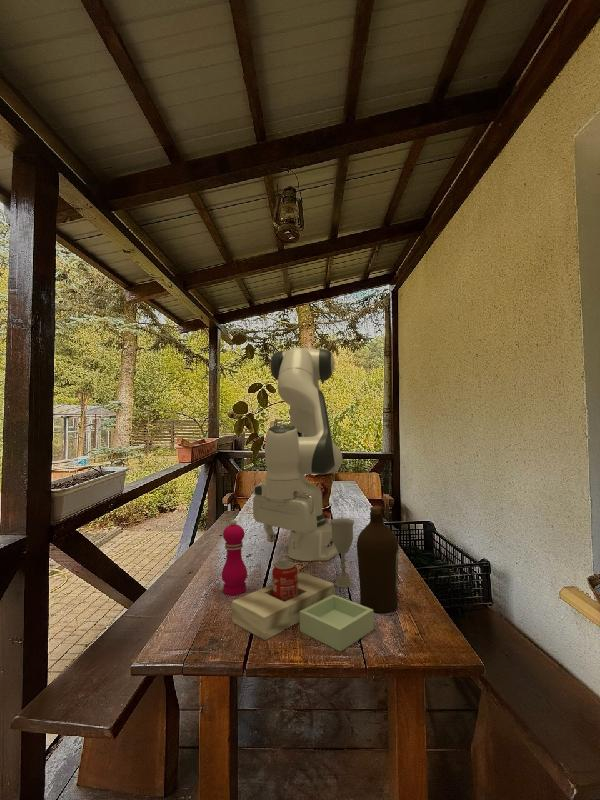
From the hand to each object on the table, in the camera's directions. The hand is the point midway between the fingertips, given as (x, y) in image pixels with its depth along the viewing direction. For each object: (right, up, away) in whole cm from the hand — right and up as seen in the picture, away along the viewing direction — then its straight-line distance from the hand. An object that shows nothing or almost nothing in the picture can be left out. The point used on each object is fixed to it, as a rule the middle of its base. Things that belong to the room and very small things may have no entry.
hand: (284, 545), depth 106 cm
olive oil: (+24, -17, +3) cm, 30 cm away
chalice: (+17, -17, +16) cm, 29 cm away
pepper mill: (-14, -18, +13) cm, 26 cm away
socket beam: (0, -17, 0) cm, 17 cm away
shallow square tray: (+12, -16, -9) cm, 23 cm away
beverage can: (0, -17, 0) cm, 17 cm away
